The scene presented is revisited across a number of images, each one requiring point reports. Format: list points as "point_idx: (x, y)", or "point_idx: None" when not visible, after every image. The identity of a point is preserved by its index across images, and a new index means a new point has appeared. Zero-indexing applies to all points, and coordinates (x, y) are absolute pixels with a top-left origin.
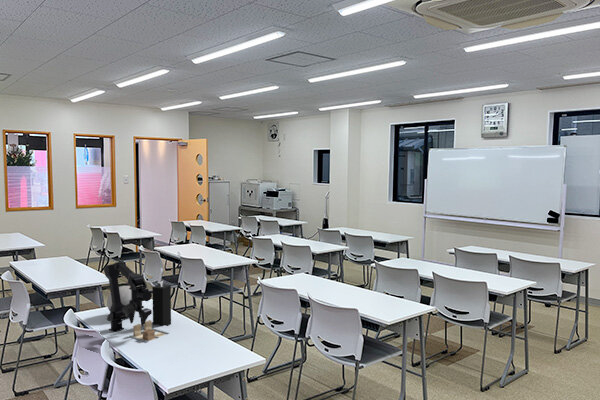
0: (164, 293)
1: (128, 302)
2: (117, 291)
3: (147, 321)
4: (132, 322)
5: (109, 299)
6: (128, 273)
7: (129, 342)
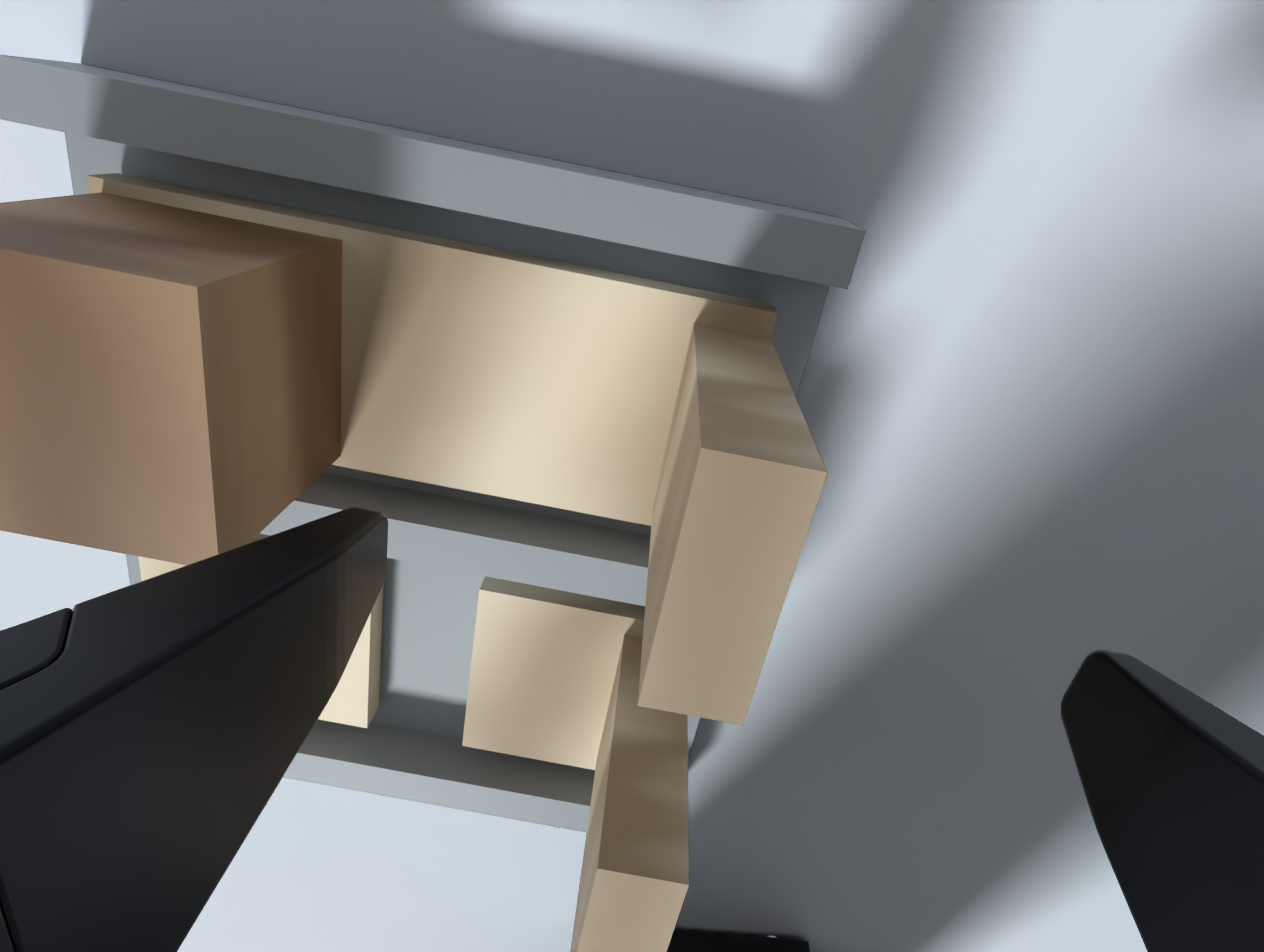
0: None
1: None
2: None
3: (624, 942)
4: (1074, 713)
5: None
6: None
7: (683, 26)
